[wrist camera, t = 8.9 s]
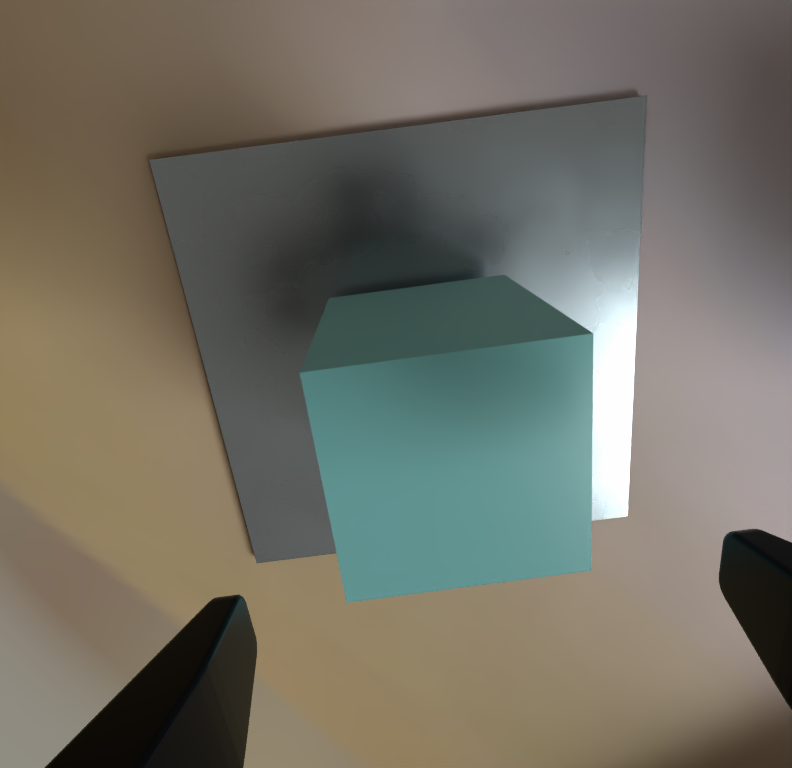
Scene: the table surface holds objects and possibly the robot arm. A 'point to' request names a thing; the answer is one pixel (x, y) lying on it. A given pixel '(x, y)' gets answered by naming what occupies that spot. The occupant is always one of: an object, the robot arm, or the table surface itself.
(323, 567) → the table surface
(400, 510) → the teal tilted cuboid
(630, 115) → the thin grey square plate
